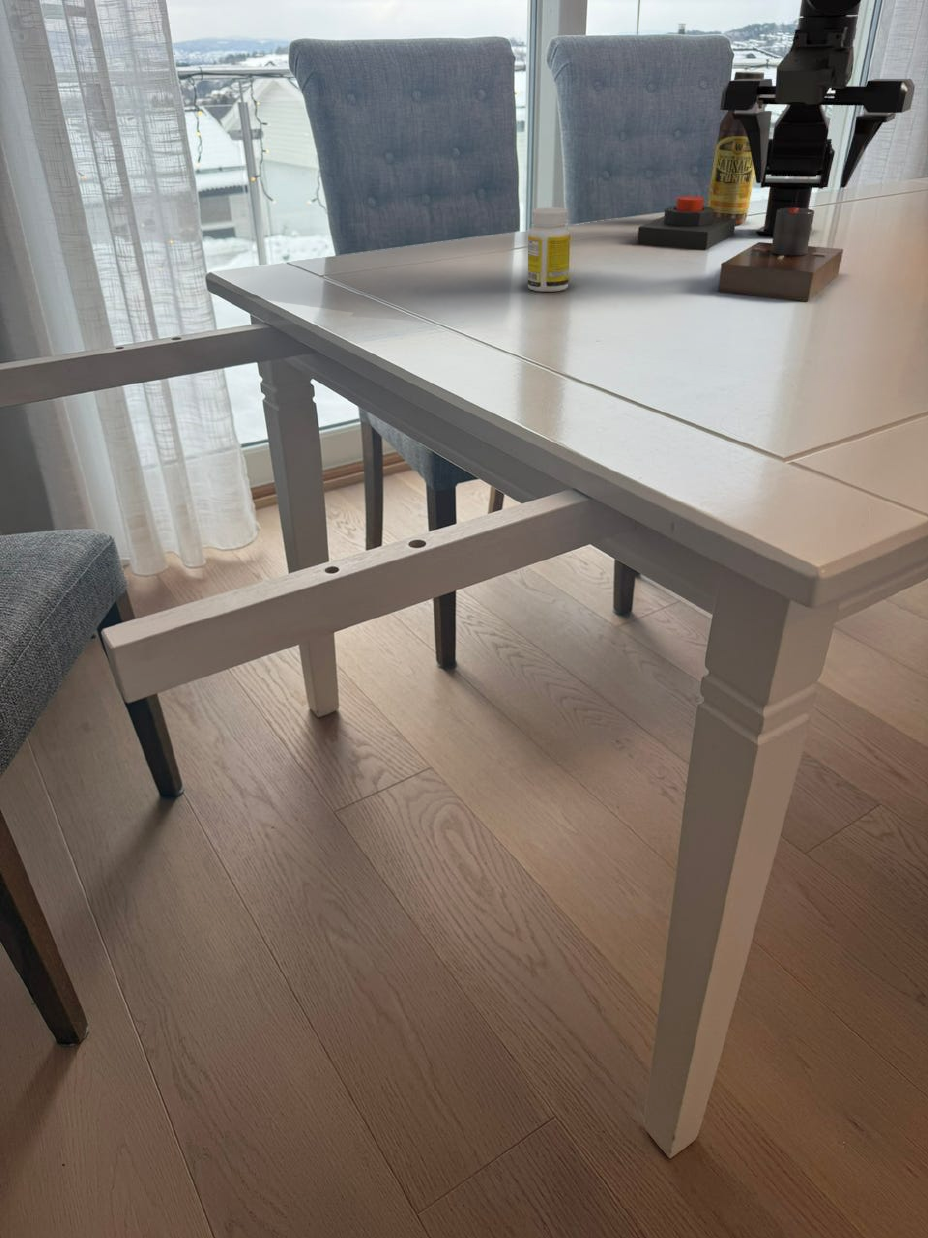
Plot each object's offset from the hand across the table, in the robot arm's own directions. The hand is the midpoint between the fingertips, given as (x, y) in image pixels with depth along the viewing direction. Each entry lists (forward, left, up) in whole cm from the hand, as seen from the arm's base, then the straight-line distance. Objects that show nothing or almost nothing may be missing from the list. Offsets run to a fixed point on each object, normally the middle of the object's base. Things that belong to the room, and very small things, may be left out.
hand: (800, 184), depth 100 cm
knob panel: (+2, 0, -10) cm, 10 cm away
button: (-19, -19, -6) cm, 28 cm away
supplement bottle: (+16, -23, -10) cm, 30 cm away
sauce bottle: (-34, -18, -10) cm, 40 cm away
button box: (-19, -19, -10) cm, 29 cm away
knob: (0, 0, -7) cm, 7 cm away
